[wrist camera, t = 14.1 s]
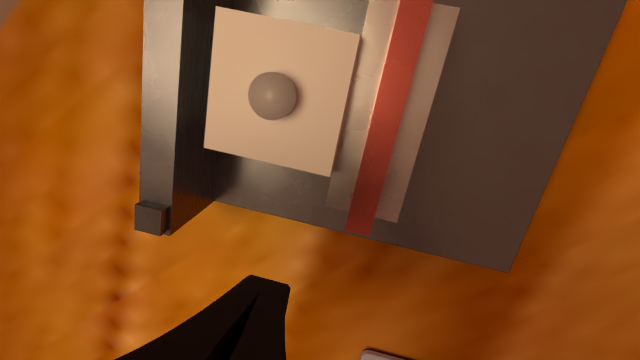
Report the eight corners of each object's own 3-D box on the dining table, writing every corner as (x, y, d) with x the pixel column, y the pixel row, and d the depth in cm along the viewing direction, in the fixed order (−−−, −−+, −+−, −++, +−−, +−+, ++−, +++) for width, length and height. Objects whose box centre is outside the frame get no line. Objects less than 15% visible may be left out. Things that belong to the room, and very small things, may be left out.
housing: (341, 149, 17) (327, 181, 12) (248, 128, 18) (195, 150, 12) (364, 46, 16) (359, 31, 10) (261, 26, 16) (207, 2, 11)
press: (501, 263, 19) (556, 343, 13) (198, 189, 20) (131, 232, 15) (619, -16, 14) (777, -75, 9) (221, -84, 16) (137, -172, 10)
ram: (389, 199, 18) (394, 242, 13) (333, 186, 18) (319, 224, 13) (441, 12, 15) (472, -15, 10) (374, 0, 15) (374, -33, 11)
